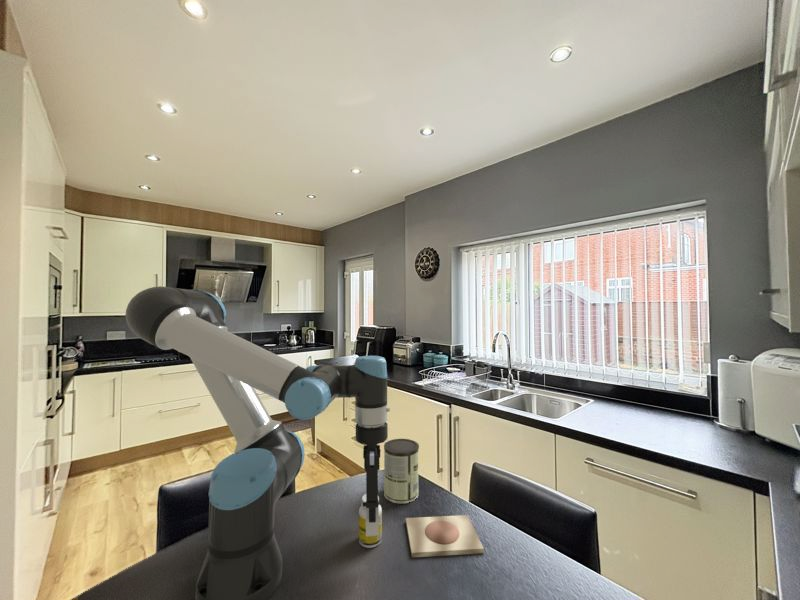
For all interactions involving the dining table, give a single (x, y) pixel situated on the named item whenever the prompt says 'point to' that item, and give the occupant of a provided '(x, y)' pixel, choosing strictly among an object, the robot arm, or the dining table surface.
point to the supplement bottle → (363, 539)
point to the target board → (442, 536)
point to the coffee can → (401, 470)
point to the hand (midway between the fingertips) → (372, 515)
